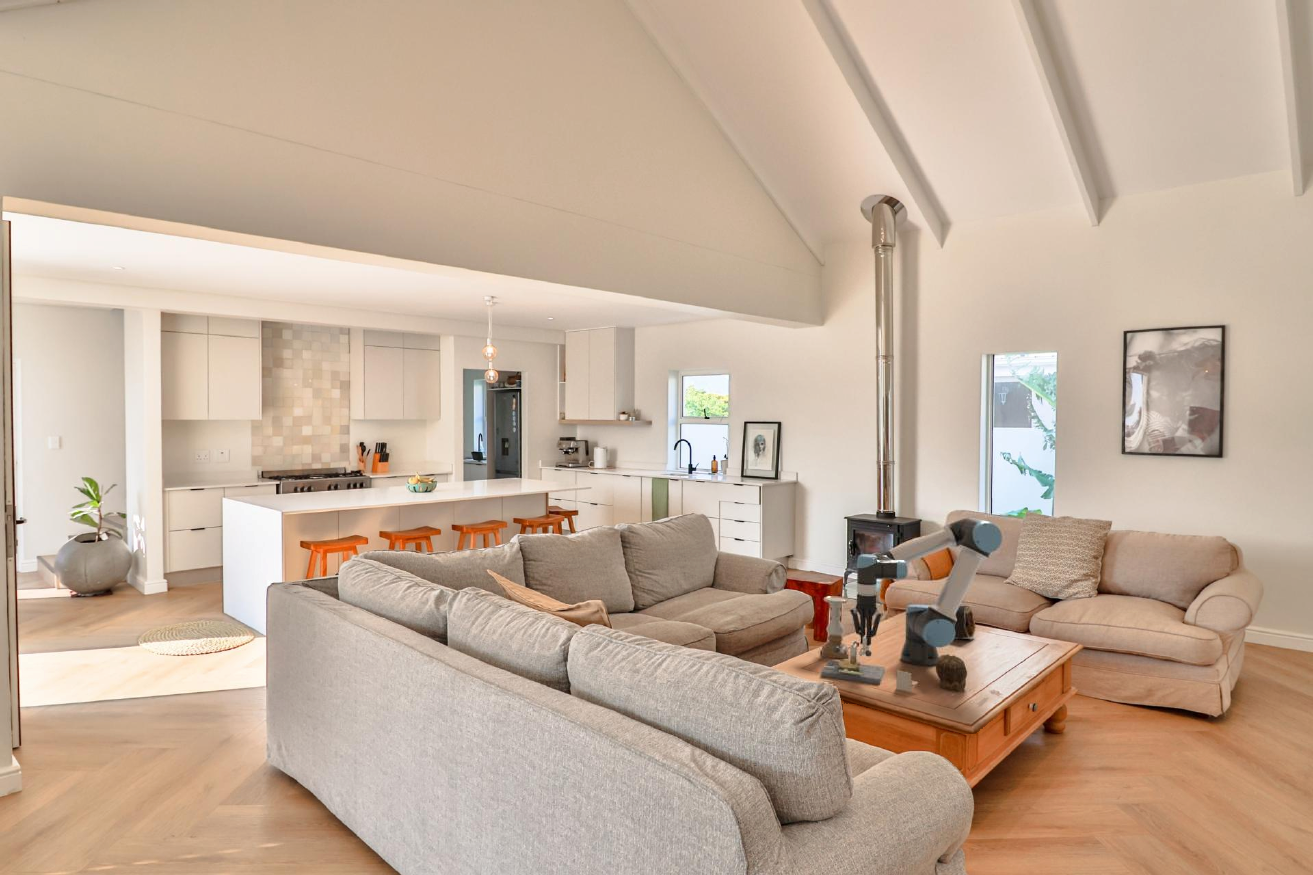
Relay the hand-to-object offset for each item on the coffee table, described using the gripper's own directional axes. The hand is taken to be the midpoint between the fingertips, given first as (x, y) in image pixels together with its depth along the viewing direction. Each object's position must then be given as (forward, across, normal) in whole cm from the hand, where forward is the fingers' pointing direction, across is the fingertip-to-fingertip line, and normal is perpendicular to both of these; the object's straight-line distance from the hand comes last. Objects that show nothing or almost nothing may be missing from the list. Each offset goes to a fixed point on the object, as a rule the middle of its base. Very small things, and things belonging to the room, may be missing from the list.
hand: (865, 652), depth 311 cm
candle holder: (+8, +19, -14) cm, 25 cm away
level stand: (+7, +2, +6) cm, 10 cm away
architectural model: (+8, -20, +11) cm, 24 cm away
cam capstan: (+5, +3, +5) cm, 8 cm away
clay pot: (+8, -8, -74) cm, 75 cm away
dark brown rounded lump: (+8, -33, -2) cm, 34 cm away
